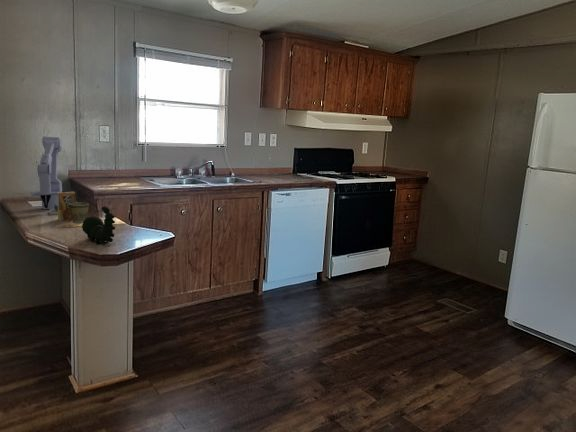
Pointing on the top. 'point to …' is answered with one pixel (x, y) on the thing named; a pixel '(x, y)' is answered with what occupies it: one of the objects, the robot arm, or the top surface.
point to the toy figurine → (99, 227)
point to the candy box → (65, 204)
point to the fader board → (53, 212)
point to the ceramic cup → (79, 211)
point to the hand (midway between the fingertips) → (46, 207)
